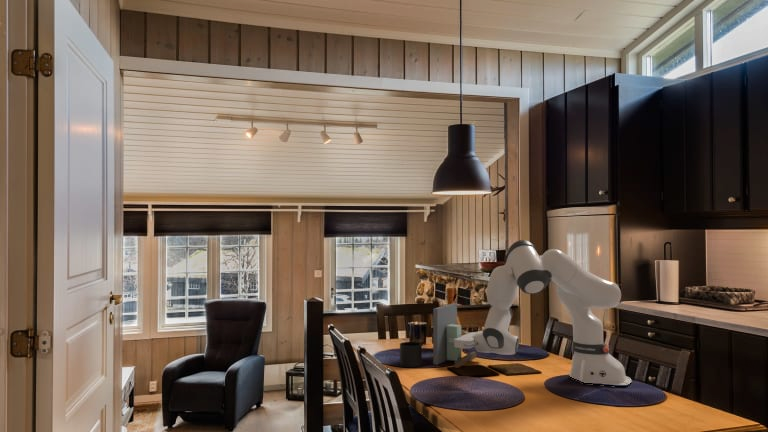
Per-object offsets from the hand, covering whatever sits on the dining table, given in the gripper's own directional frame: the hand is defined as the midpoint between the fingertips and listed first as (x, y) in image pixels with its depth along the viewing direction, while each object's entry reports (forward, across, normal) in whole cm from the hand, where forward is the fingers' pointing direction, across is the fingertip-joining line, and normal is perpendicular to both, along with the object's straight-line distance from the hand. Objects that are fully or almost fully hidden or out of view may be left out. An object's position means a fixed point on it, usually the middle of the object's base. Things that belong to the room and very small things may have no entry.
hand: (452, 338), depth 237 cm
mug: (+13, -16, -10) cm, 23 cm away
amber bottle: (+10, +22, -10) cm, 26 cm away
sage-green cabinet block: (-1, 0, -9) cm, 9 cm away
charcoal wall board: (-1, 0, -10) cm, 10 cm away
